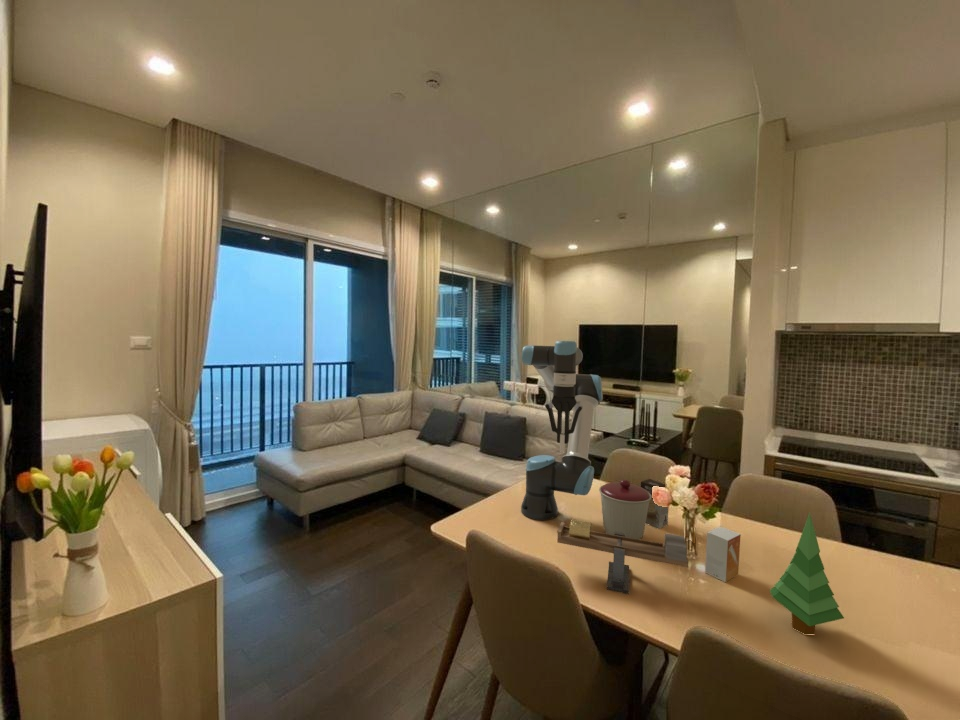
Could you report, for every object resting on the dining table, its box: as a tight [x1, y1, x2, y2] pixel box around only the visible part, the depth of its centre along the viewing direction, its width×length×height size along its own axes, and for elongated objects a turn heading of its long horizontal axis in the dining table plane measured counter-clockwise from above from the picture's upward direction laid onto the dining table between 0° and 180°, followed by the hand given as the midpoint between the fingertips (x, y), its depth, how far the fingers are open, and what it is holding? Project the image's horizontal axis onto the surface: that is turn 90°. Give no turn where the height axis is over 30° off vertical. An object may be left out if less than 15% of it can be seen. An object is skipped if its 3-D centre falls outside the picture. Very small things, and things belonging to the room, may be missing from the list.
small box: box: [704, 526, 742, 583], centre depth 124 cm, size 8×6×13 cm
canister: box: [598, 478, 652, 540], centre depth 147 cm, size 18×18×21 cm
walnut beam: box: [556, 521, 689, 568], centre depth 120 cm, size 8×36×6 cm, turn 70°
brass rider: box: [569, 518, 592, 540], centre depth 124 cm, size 4×6×4 cm
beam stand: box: [606, 532, 630, 595], centre depth 120 cm, size 14×6×12 cm, turn 160°
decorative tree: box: [769, 512, 845, 635], centre depth 100 cm, size 14×16×30 cm
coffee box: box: [640, 478, 670, 530], centre depth 158 cm, size 9×6×16 cm
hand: (562, 452), depth 140 cm, fingers closed
